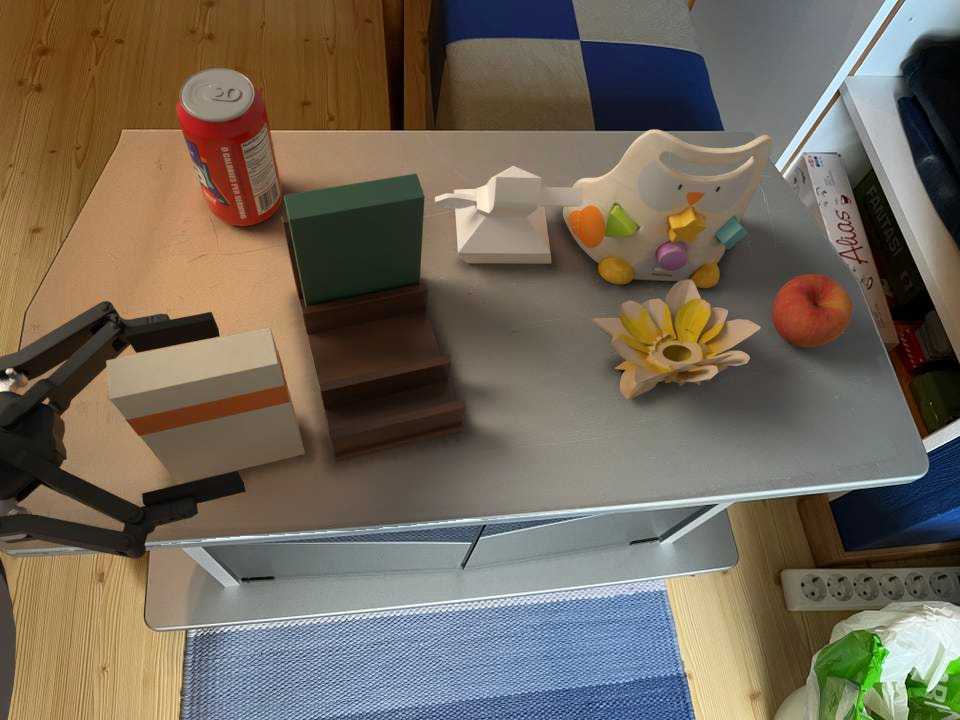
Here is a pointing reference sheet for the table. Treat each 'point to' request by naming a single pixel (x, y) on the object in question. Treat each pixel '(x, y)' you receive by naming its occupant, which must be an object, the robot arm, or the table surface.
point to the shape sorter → (666, 211)
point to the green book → (357, 238)
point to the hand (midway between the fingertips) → (228, 398)
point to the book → (209, 404)
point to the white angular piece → (506, 218)
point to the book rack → (378, 369)
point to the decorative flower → (674, 340)
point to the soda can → (230, 145)
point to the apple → (811, 310)
